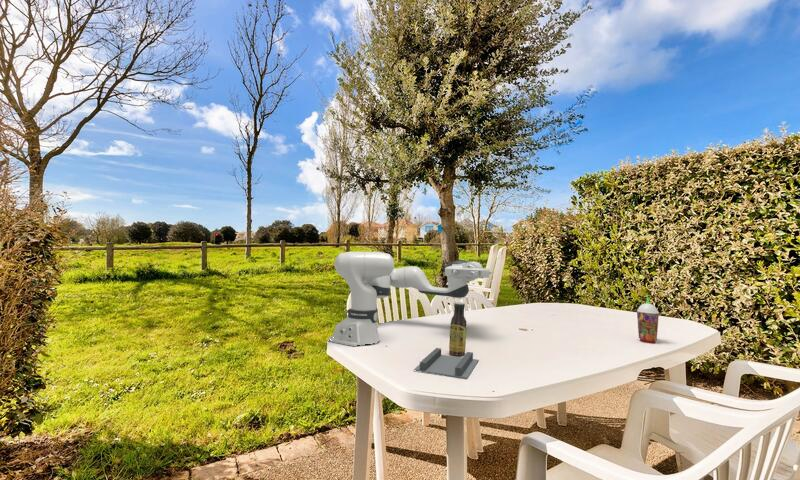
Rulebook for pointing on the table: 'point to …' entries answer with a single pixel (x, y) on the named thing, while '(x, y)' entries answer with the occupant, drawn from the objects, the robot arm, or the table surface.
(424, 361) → the holder
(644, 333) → the smoothie
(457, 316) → the sauce bottle
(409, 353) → the table surface
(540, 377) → the table surface
